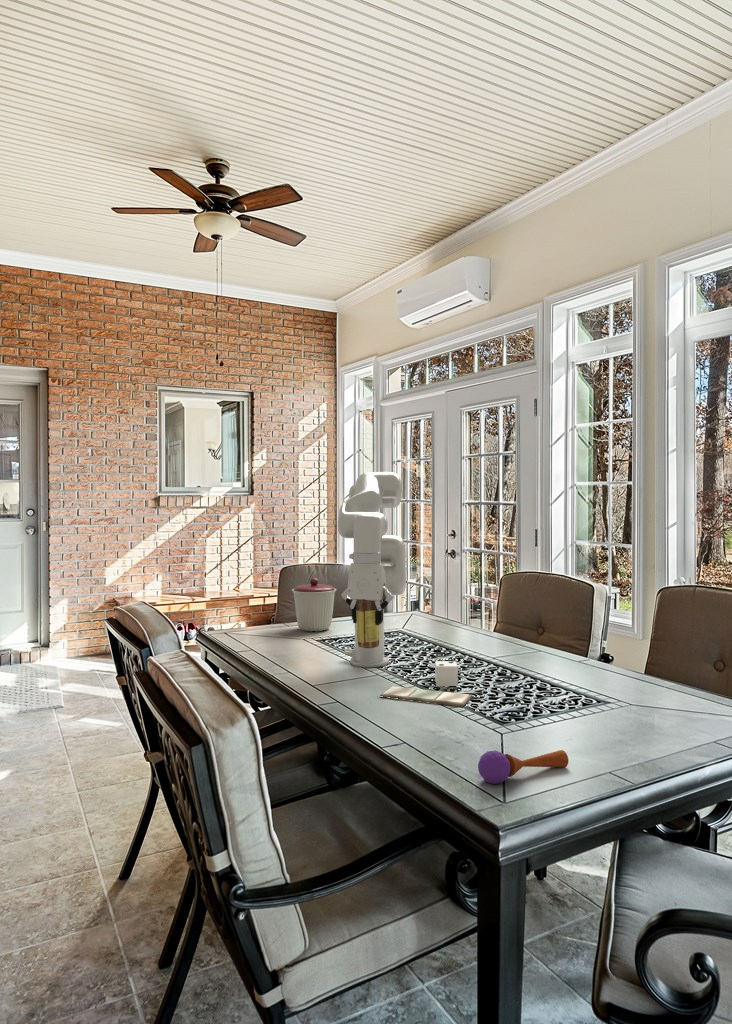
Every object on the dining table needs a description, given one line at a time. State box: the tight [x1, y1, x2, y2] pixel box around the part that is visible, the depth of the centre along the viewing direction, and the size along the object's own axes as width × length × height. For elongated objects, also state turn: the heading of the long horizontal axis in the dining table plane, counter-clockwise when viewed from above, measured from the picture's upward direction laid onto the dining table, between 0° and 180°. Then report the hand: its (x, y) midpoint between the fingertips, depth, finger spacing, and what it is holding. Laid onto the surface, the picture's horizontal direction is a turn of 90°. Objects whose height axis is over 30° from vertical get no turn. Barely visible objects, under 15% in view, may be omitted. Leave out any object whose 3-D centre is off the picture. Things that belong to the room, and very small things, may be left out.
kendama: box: [477, 749, 569, 785], centre depth 135 cm, size 6×6×20 cm
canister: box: [291, 577, 337, 632], centre depth 282 cm, size 18×18×21 cm
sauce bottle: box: [356, 599, 379, 648], centre depth 192 cm, size 6×6×20 cm
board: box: [379, 685, 473, 708], centre depth 186 cm, size 23×9×1 cm, turn 68°
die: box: [434, 660, 459, 688], centre depth 200 cm, size 6×6×6 cm
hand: (367, 622), depth 192 cm, fingers closed on sauce bottle, 6 cm apart
